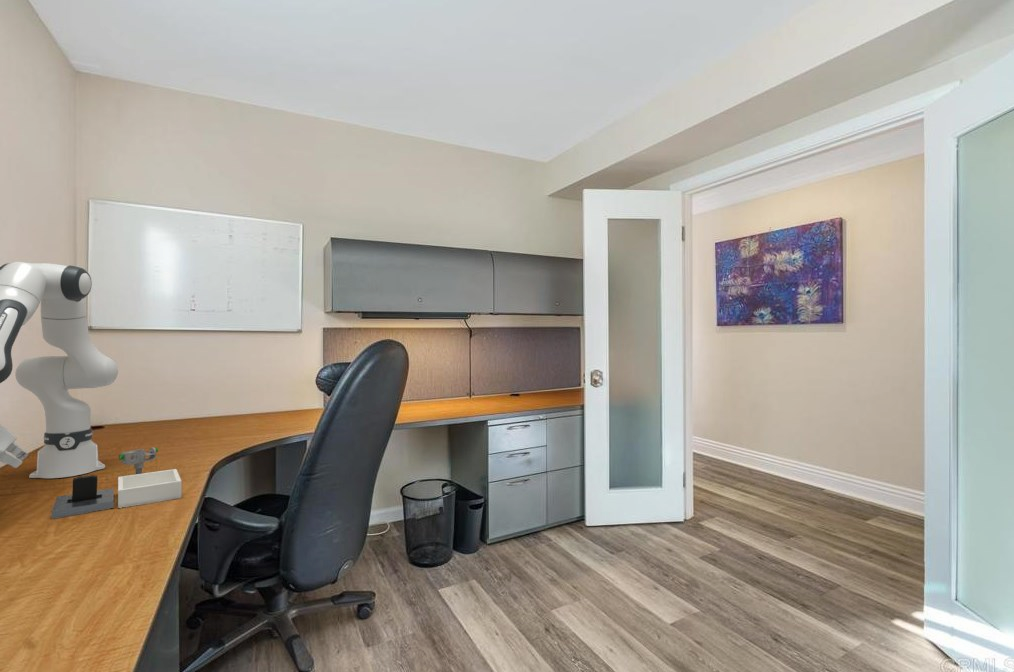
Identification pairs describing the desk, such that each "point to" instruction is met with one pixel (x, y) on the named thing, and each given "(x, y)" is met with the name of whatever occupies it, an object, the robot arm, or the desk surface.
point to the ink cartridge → (84, 488)
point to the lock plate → (82, 504)
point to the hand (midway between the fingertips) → (22, 461)
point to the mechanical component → (138, 458)
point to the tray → (148, 488)
